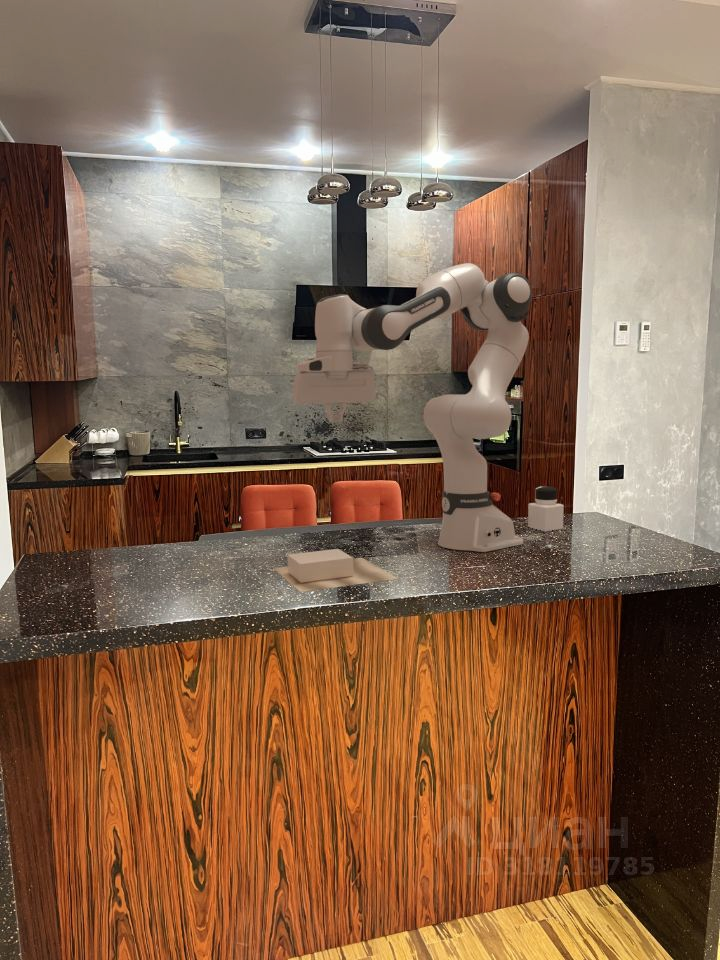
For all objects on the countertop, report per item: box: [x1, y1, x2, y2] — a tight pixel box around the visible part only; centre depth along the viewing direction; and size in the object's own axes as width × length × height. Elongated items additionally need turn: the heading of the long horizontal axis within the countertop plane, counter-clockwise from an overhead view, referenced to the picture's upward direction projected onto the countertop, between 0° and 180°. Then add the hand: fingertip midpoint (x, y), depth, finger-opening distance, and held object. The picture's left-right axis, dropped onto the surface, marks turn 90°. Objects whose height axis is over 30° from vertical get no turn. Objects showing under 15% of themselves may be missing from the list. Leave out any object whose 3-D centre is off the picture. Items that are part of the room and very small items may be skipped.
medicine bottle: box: [527, 486, 565, 533], centre depth 201 cm, size 7×7×12 cm
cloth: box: [273, 557, 399, 593], centre depth 155 cm, size 22×20×1 cm
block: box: [287, 548, 354, 583], centre depth 154 cm, size 4×9×12 cm
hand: (335, 422), depth 170 cm, fingers closed
